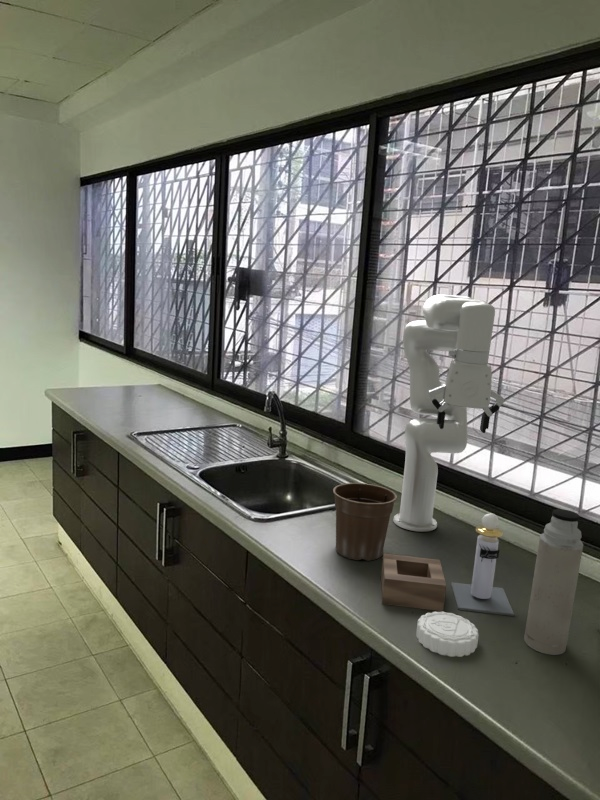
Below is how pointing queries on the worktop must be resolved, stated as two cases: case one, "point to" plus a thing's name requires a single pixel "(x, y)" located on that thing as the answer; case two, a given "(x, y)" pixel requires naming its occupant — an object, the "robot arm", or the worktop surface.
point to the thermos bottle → (554, 584)
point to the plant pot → (362, 519)
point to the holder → (412, 582)
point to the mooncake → (447, 634)
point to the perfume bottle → (485, 556)
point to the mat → (481, 600)
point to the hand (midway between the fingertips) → (461, 429)
